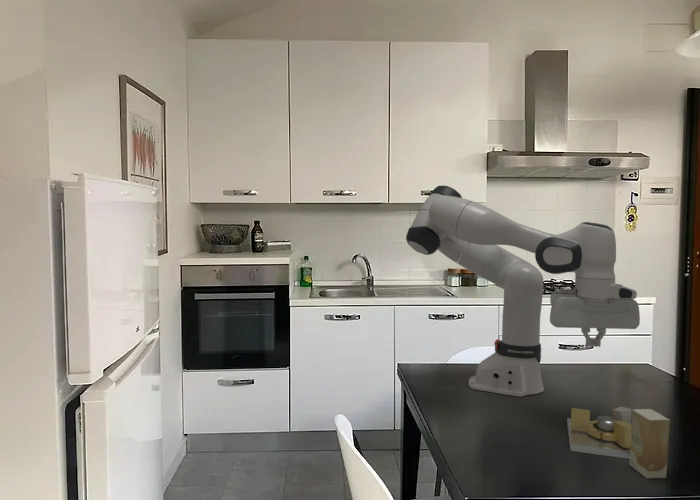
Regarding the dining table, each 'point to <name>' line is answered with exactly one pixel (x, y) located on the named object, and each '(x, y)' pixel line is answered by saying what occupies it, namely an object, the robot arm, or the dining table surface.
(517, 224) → the robot arm
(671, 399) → the dining table surface
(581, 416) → the ring nut
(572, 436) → the housing
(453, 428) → the dining table surface
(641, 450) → the skincare box
